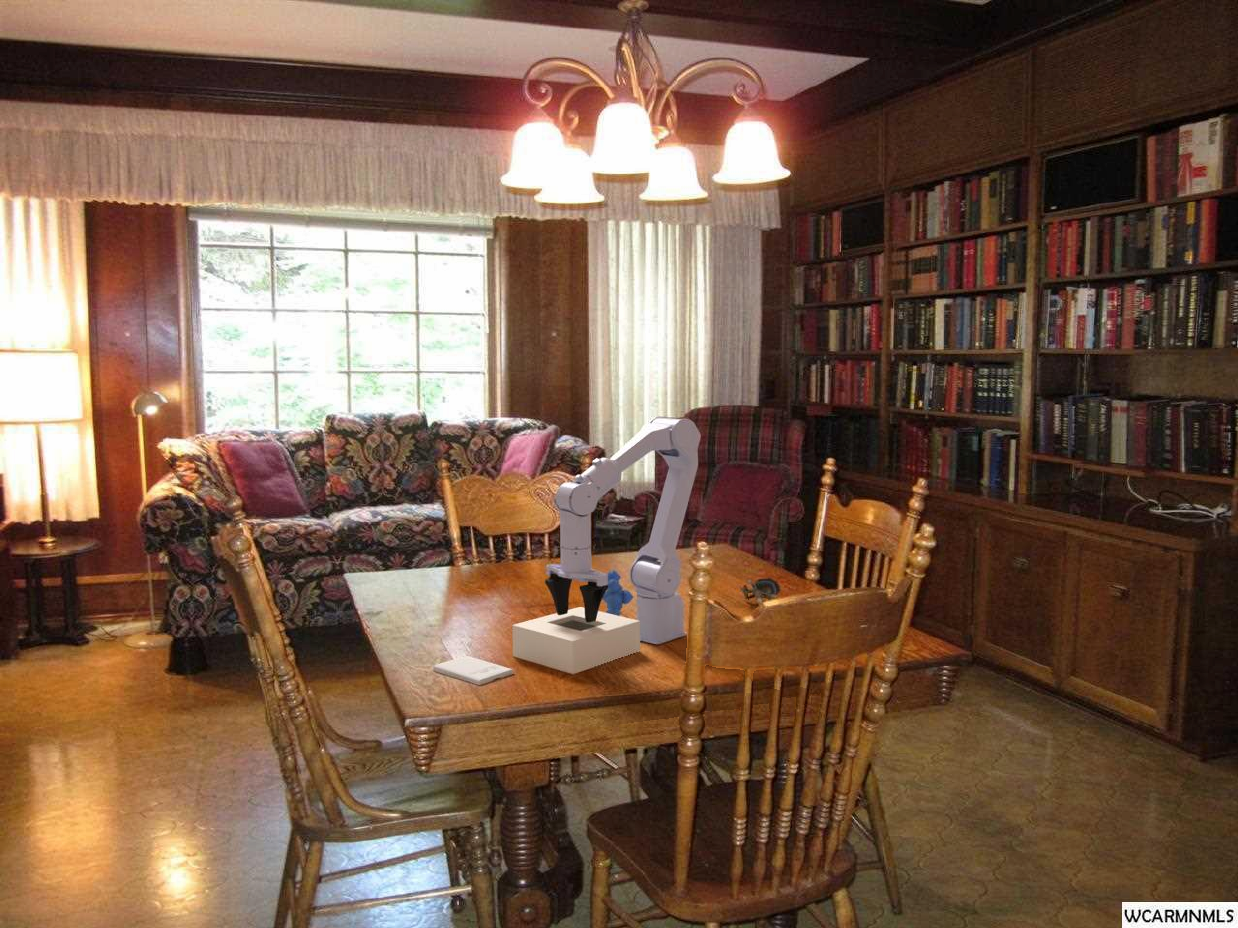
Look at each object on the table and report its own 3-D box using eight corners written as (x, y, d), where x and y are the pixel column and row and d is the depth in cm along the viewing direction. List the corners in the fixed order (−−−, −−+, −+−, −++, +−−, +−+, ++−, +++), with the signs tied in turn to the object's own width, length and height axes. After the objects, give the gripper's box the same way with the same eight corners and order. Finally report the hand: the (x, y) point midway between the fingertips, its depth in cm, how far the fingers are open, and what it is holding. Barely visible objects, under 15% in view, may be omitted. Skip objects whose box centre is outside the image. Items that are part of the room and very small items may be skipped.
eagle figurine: (740, 603, 220) (780, 599, 217) (738, 573, 223) (778, 568, 221) (748, 614, 226) (787, 610, 224) (746, 585, 230) (785, 580, 227)
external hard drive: (468, 663, 184) (514, 676, 176) (433, 674, 178) (479, 688, 170) (467, 654, 184) (514, 667, 176) (433, 665, 178) (479, 679, 170)
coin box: (580, 635, 200) (580, 606, 199) (640, 651, 189) (640, 620, 188) (512, 656, 186) (512, 624, 186) (572, 674, 176) (572, 641, 175)
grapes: (634, 632, 202) (634, 574, 200) (601, 632, 202) (600, 574, 200) (633, 617, 213) (632, 562, 212) (601, 617, 213) (601, 562, 212)
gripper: (533, 544, 187) (534, 615, 189) (588, 554, 178) (589, 628, 179) (560, 539, 192) (561, 608, 194) (615, 549, 183) (615, 621, 184)
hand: (576, 617), depth 187 cm, fingers open, 7 cm apart
